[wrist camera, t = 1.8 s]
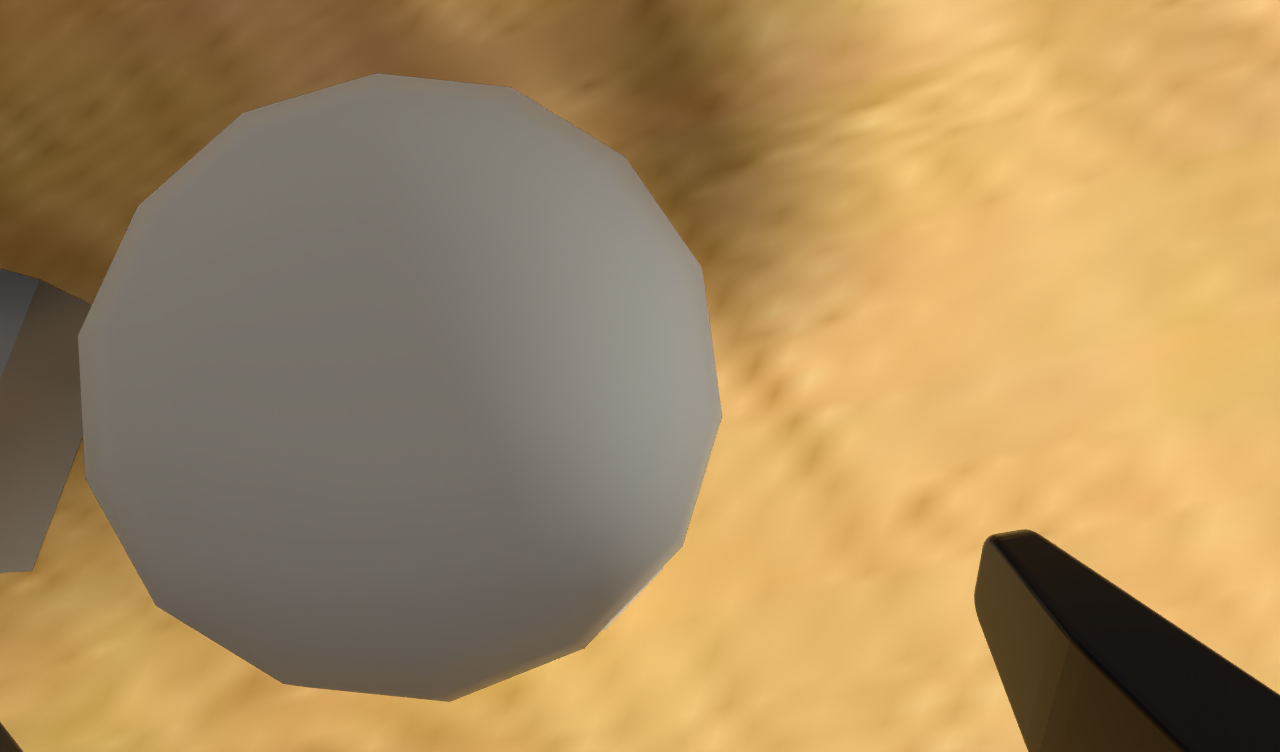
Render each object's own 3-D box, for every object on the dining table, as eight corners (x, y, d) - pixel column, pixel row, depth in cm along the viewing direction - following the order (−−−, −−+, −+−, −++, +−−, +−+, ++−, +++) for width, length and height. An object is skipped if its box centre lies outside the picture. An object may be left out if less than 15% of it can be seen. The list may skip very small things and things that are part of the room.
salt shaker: (300, 535, 18) (-357, 506, 5) (470, 279, 19) (250, -250, 6) (571, 703, 18) (541, 1086, 5) (729, 436, 19) (1029, 209, 6)
